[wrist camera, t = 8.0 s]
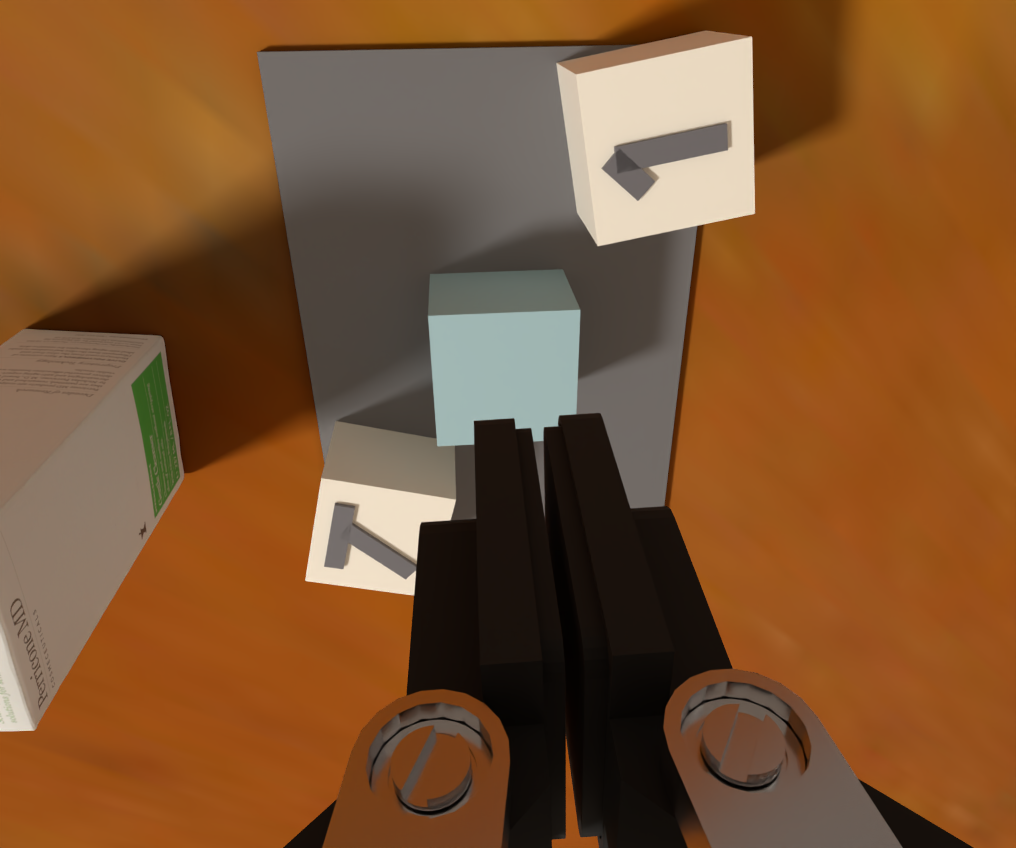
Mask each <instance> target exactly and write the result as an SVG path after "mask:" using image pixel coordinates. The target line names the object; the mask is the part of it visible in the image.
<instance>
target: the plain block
mask: <svg viewBox="0 0 1016 848" xmlns="http://www.w3.org/2000/svg"><path fill="white" fill-rule="evenodd" d="M428 323H429V337H430V351H431V365H432V379H433V393H434V407H435V421H436V435H437V446H455V445H474V421H477V420H493V419H509V418H514V419H515V427H516V429H522V428H531V430H532V436H533V442H534V441H543V431H544V427H553V426H558V418H559V415H572V414H576V409H577V384H578V359H579V334H580V308H579V305H578V303H577V301H576V298H575V296H574V294H573V292H572V289H571V287H570V285H569V282H568V280H567V278H566V276H565V273H564V271H563V269H555V270H527V271H500V272H472V273H445V274H430V284H429V305H428Z"/></svg>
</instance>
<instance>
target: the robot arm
mask: <svg viewBox="0 0 1016 848" xmlns="http://www.w3.org/2000/svg"><path fill="white" fill-rule="evenodd" d="M543 443H544V495H545V516H544V509H543V503H542V496H541V489H540V483H539V476H538V469H537V463H536V456H535V449H534V442H533V436H532V430H531V428H522V429H516V427H515V419H514V418H509V419H493V420H477V421H474V452H475V491H476V519H463V520H448V521H433V522H421V524H420V529H419V539H418V552H417V565H416V578H415V592H414V605H413V618H412V631H411V644H410V657H409V670H408V684H407V696H404V697H402V698H399V699H397V700H395V701H394V702H392V703H391V704H389V705H388V706H386V707H385V708H383V709H382V710H380V711H379V712H377V713H376V715H375V716H374V717H373V718H372V719H371V720H370V721H369V722H368V724H367V725H366V726H365V727H364V728H363V729H362V731H361V733H360V735H359V737H358V739H357V741H356V743H355V745H354V747H353V749H352V751H351V755H350V758H349V761H348V765H347V768H346V771H345V775H344V778H343V781H342V784H341V788H340V791H339V794H338V798H337V800H336V801H334V802H333V803H332V804H331V805H330V806H329V807H328V808H327V809H326V810H324V811H323V812H322V813H321V814H320V815H319V816H318V817H317V818H316V819H314V820H313V821H312V822H311V823H310V824H309V825H308V826H307V827H306V828H305V829H303V830H302V831H301V832H300V833H299V834H298V835H297V836H296V837H295V838H293V839H292V840H291V841H290V842H289V843H288V844H287V845H286V846H285V847H283V848H552V839H564V838H565V836H566V739H567V747H568V754H569V761H570V769H571V776H572V784H573V791H574V799H575V806H576V813H577V821H578V828H579V833H580V837H591V836H597V837H598V843H599V848H973V847H971V846H970V845H968V844H966V843H965V842H963V841H961V840H960V839H958V838H956V837H955V836H953V835H951V834H950V833H948V832H946V831H945V830H943V829H941V828H940V827H938V826H936V825H935V824H933V823H931V822H930V821H928V820H926V819H925V818H923V817H921V816H920V815H918V814H916V813H914V812H913V811H911V810H909V809H908V808H906V807H904V806H903V805H901V804H899V803H898V802H896V801H894V800H893V799H891V798H889V797H888V796H886V795H884V794H883V793H881V792H879V791H878V790H876V789H874V788H873V787H871V786H869V785H868V784H866V783H864V782H863V781H861V780H859V779H858V778H857V777H856V775H855V774H854V772H853V771H852V769H851V768H850V766H849V765H848V763H847V762H846V760H845V759H844V757H843V755H842V754H841V752H840V751H839V749H838V748H837V746H836V745H835V743H834V742H833V740H832V739H831V737H830V736H829V734H828V732H827V731H826V729H825V728H824V726H823V725H822V723H821V722H820V720H819V719H818V717H817V716H816V715H815V714H814V713H813V711H812V710H811V709H810V708H809V707H808V706H807V704H806V703H805V702H804V701H803V700H802V698H800V697H799V696H798V695H796V694H795V693H793V692H792V691H791V690H789V689H788V688H786V687H785V686H784V685H782V684H781V683H779V682H777V681H774V680H772V679H770V678H767V677H765V676H763V675H760V674H758V673H754V672H748V671H743V670H737V669H733V668H732V666H731V663H730V661H729V658H728V655H727V653H726V650H725V648H724V645H723V642H722V640H721V637H720V635H719V632H718V629H717V627H716V624H715V622H714V619H713V616H712V614H711V611H710V608H709V606H708V603H707V601H706V598H705V595H704V593H703V590H702V588H701V585H700V582H699V580H698V577H697V575H696V572H695V569H694V567H693V564H692V562H691V559H690V556H689V554H688V551H687V549H686V546H685V543H684V541H683V538H682V536H681V533H680V530H679V528H678V525H677V523H676V520H675V517H674V515H673V513H672V511H671V509H670V508H668V507H667V506H659V507H644V508H630V505H629V502H628V499H627V495H626V492H625V489H624V486H623V483H622V479H621V476H620V473H619V470H618V466H617V463H616V460H615V457H614V453H613V450H612V447H611V444H610V441H609V437H608V434H607V431H606V428H605V424H604V421H603V418H602V415H601V413H588V414H572V415H559V418H558V426H553V427H544V431H543Z"/></svg>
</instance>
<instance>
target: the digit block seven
mask: <svg viewBox="0 0 1016 848" xmlns="http://www.w3.org/2000/svg"><path fill="white" fill-rule="evenodd" d="M455 502H456V477H455V446H437V439H436V438H430V437H424V436H418V435H413V434H407V433H401V432H396V431H390V430H384V429H379V428H373V427H367V426H362V425H356V424H350V423H344V422H339V421H336V422H335V426H334V430H333V434H332V438H331V442H330V446H329V450H328V454H327V458H326V462H325V465H324V469H323V473H322V477H321V483H320V490H319V496H318V503H317V509H316V515H315V522H314V528H313V534H312V541H311V547H310V554H309V560H308V566H307V573H306V579H305V581H310V582H318V583H325V584H333V585H340V586H348V587H355V588H362V589H370V590H377V591H385V592H392V593H400V594H407V595H414V592H415V578H416V565H417V552H418V539H419V529H420V524H421V522H433V521H448V520H451V517H452V513H453V509H454V506H455Z"/></svg>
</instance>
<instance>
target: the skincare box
mask: <svg viewBox="0 0 1016 848" xmlns="http://www.w3.org/2000/svg"><path fill="white" fill-rule="evenodd" d="M183 479H184V470H183V463H182V459H181V453H180V442H179V434H178V428H177V422H176V416H175V410H174V404H173V398H172V392H171V386H170V379H169V372H168V365H167V357H166V350H165V343H164V339H163V337H162V336H157V335H138V334H117V333H96V332H76V331H57V330H37V329H23V330H22V331H20V332H19V333H18V334H16V335H15V336H13V337H12V338H10V339H9V340H8V341H6V342H5V343H3V344H2V345H1V346H0V731H32V730H35V729H36V728H37V725H38V723H39V721H40V720H41V718H42V716H43V714H44V713H45V711H46V709H47V708H48V706H49V704H50V703H51V701H52V699H53V698H54V696H55V694H56V693H57V691H58V689H59V686H60V685H61V683H62V682H63V680H64V679H65V677H66V675H67V674H68V672H69V670H70V669H71V667H72V665H73V664H74V662H75V660H76V659H77V657H78V655H79V654H80V652H81V650H82V649H83V647H84V645H85V644H86V642H87V640H88V639H89V637H90V635H91V633H92V632H93V630H94V628H95V627H96V625H97V624H98V622H99V620H100V618H101V616H102V615H103V613H104V611H105V610H106V608H107V606H108V605H109V603H110V602H111V600H112V598H113V597H114V595H115V593H116V591H117V590H118V588H119V586H120V585H121V583H122V582H123V580H124V578H125V576H126V575H127V573H128V572H129V570H130V568H131V566H132V565H133V563H134V561H135V560H136V558H137V556H138V555H139V553H140V551H141V550H142V548H143V546H144V545H145V543H146V541H147V540H148V538H149V536H150V535H151V533H152V532H153V530H154V528H155V527H156V525H157V523H158V521H159V520H160V518H161V516H162V515H163V513H164V511H165V510H166V508H167V506H168V505H169V503H170V501H171V500H172V498H173V496H174V494H175V493H176V491H177V490H178V488H179V486H180V485H181V483H182V481H183Z"/></svg>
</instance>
